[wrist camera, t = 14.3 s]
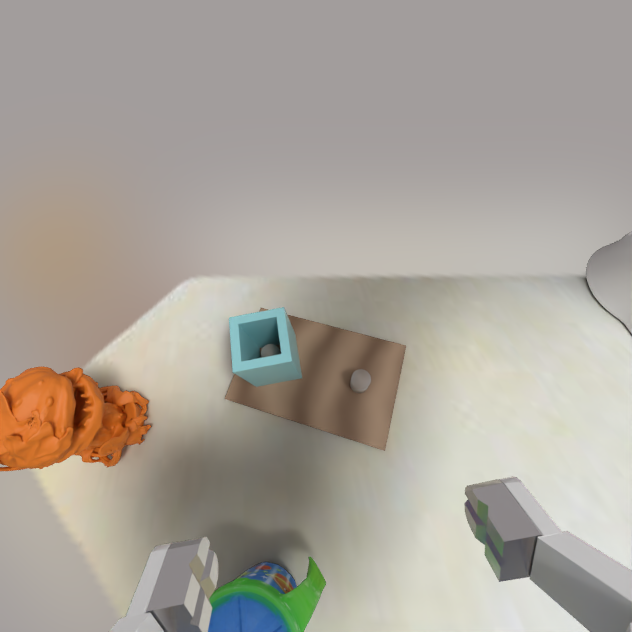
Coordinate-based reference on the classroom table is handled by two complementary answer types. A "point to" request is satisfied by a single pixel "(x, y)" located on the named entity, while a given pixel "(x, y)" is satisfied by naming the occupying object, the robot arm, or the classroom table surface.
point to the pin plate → (332, 383)
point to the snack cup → (266, 600)
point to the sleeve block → (254, 335)
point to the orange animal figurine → (66, 419)
